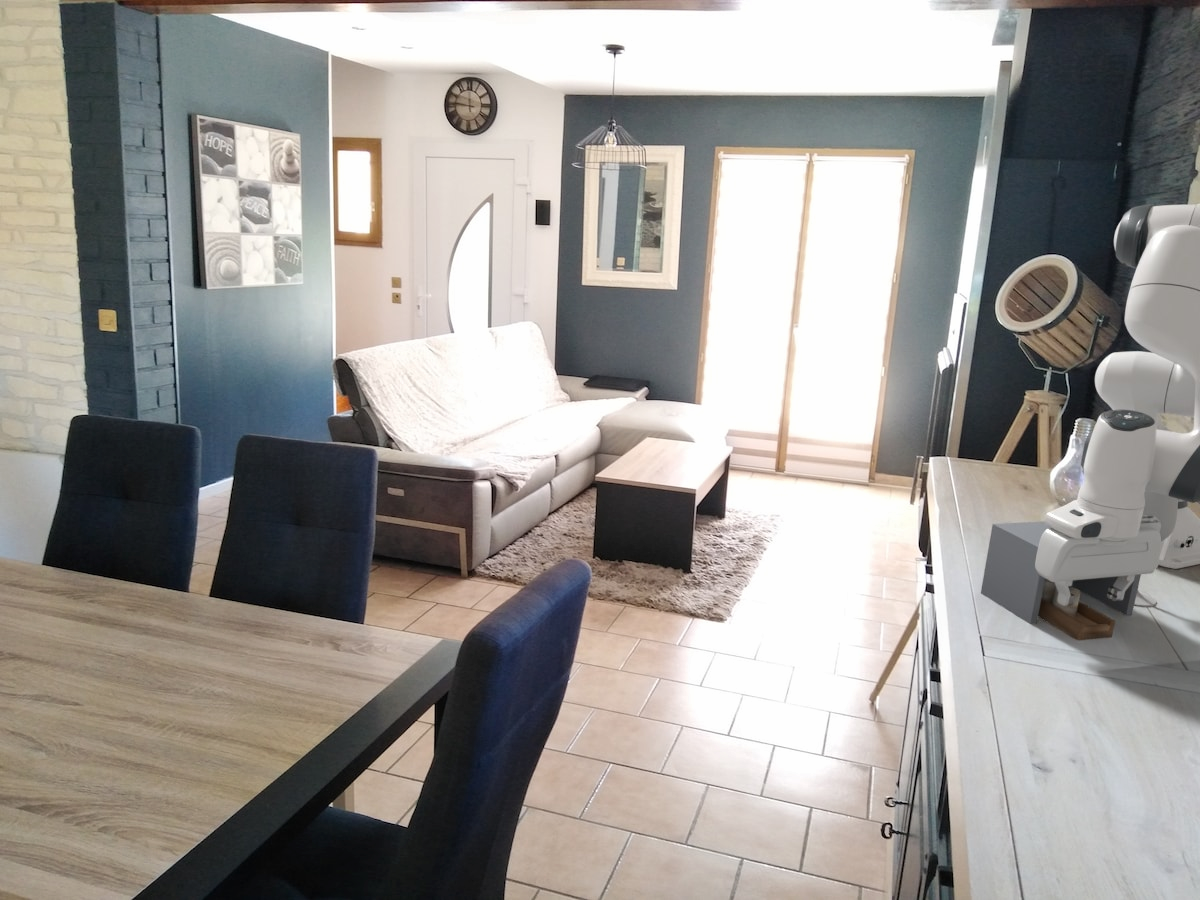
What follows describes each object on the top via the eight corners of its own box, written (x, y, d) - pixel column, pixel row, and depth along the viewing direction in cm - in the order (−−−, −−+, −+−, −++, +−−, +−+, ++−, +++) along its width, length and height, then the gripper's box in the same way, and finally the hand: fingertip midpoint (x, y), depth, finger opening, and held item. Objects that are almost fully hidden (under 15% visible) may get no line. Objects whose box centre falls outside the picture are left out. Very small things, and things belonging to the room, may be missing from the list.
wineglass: (1164, 609, 151) (1192, 490, 145) (1115, 603, 152) (1140, 485, 147) (1147, 591, 158) (1173, 477, 153) (1100, 586, 159) (1124, 472, 154)
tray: (1046, 599, 152) (1051, 571, 151) (1111, 637, 140) (1118, 606, 138) (1014, 602, 151) (1019, 573, 149) (1077, 640, 138) (1083, 609, 136)
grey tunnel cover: (1076, 585, 159) (1090, 519, 156) (1131, 615, 148) (1147, 543, 145) (980, 592, 154) (992, 524, 151) (1030, 623, 143) (1044, 550, 139)
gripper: (1145, 507, 142) (1127, 588, 145) (1036, 514, 136) (1021, 598, 140) (1179, 521, 136) (1160, 605, 140) (1067, 529, 130) (1050, 616, 134)
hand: (1089, 601), depth 140 cm, fingers open, 8 cm apart
